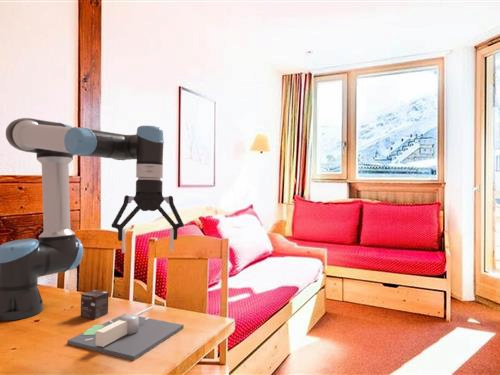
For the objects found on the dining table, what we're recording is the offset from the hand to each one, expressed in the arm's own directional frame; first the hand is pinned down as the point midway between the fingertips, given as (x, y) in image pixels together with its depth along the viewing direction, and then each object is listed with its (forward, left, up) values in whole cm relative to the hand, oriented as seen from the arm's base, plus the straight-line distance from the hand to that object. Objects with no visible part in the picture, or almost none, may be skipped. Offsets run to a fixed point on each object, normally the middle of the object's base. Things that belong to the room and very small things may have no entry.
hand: (147, 251), depth 107 cm
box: (-23, +3, -23) cm, 33 cm away
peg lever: (-2, -5, -22) cm, 23 cm away
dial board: (-2, -5, -23) cm, 24 cm away
